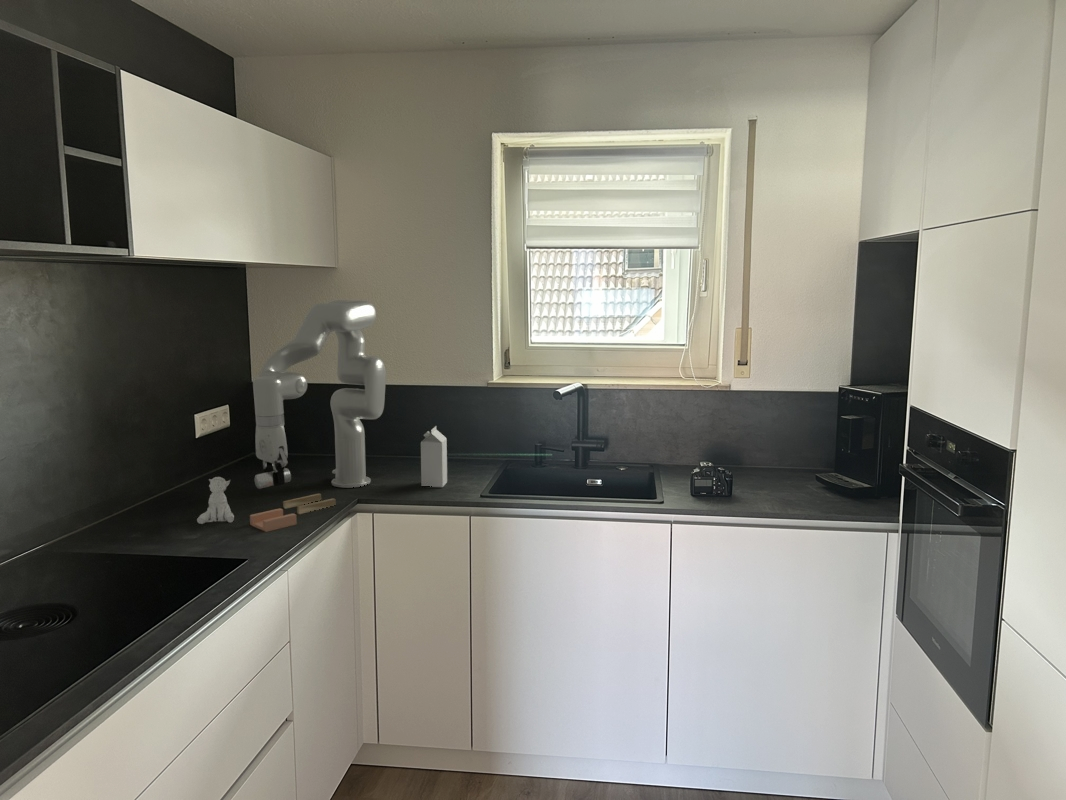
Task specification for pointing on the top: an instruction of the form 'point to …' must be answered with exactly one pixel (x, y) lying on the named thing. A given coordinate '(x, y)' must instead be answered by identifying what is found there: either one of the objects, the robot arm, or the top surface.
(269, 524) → the cradle
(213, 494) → the white creature statuette
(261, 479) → the grey cylinder
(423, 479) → the milk carton
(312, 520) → the top surface
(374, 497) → the top surface
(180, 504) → the top surface
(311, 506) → the channel beam
